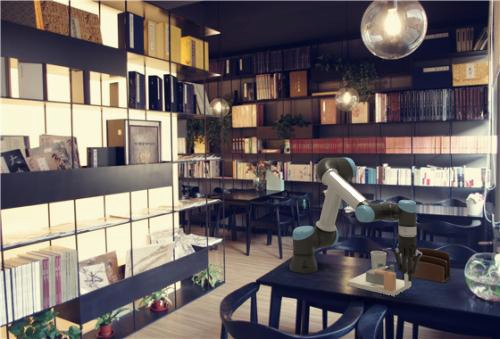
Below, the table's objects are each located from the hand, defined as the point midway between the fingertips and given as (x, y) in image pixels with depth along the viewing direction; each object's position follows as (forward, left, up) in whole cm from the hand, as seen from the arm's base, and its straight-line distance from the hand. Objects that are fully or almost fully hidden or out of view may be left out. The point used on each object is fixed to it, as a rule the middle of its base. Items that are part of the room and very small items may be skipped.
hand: (407, 287), depth 192 cm
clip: (-10, 0, -3) cm, 11 cm away
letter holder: (-5, +37, -5) cm, 37 cm away
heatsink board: (-17, +8, -5) cm, 19 cm away
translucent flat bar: (-17, +8, +3) cm, 19 cm away
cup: (-25, +23, -5) cm, 34 cm away
